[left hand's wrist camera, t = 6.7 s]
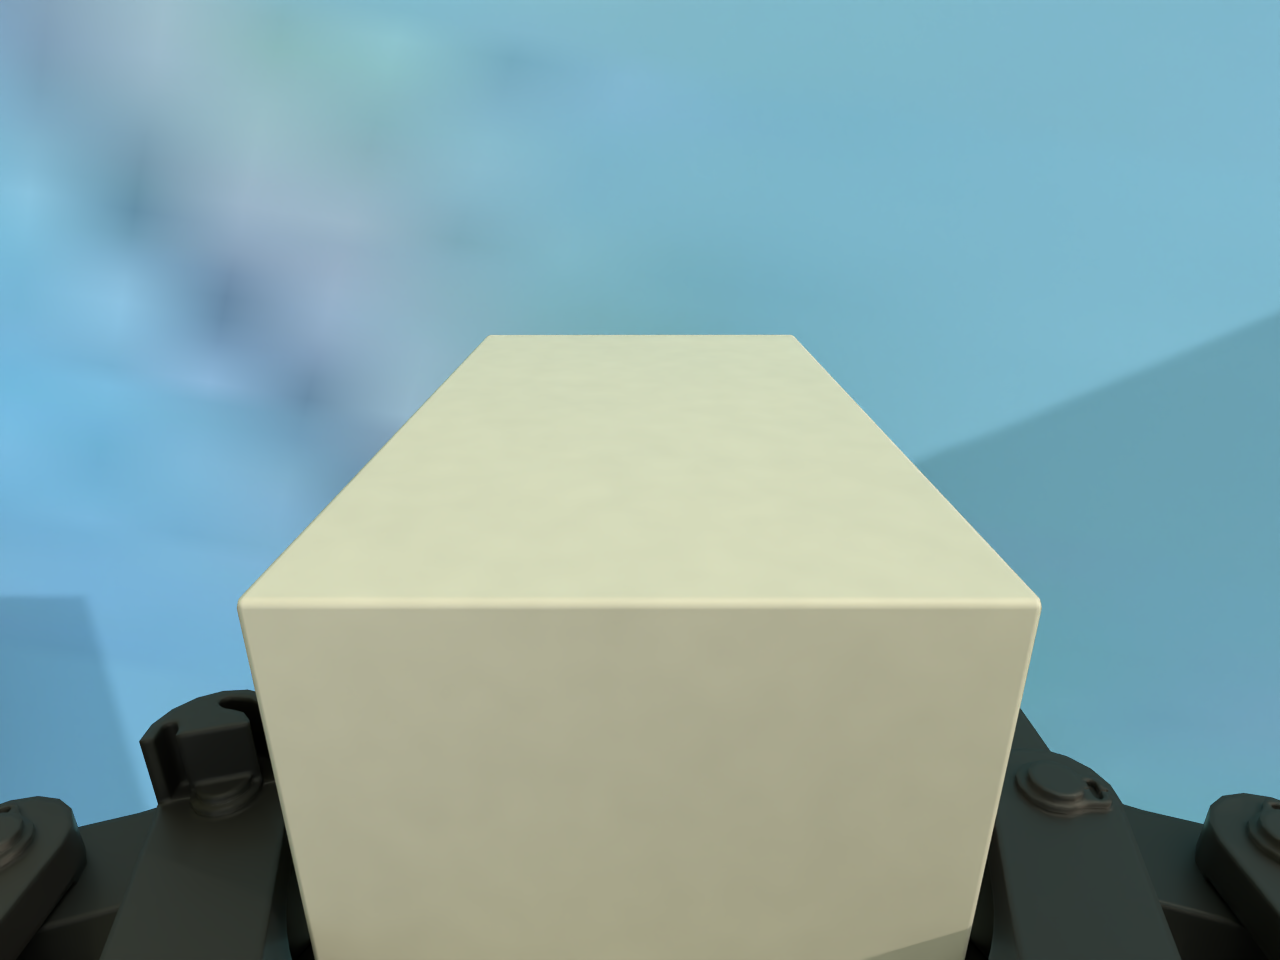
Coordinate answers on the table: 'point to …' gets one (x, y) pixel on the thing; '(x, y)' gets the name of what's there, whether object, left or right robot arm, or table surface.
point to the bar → (639, 670)
